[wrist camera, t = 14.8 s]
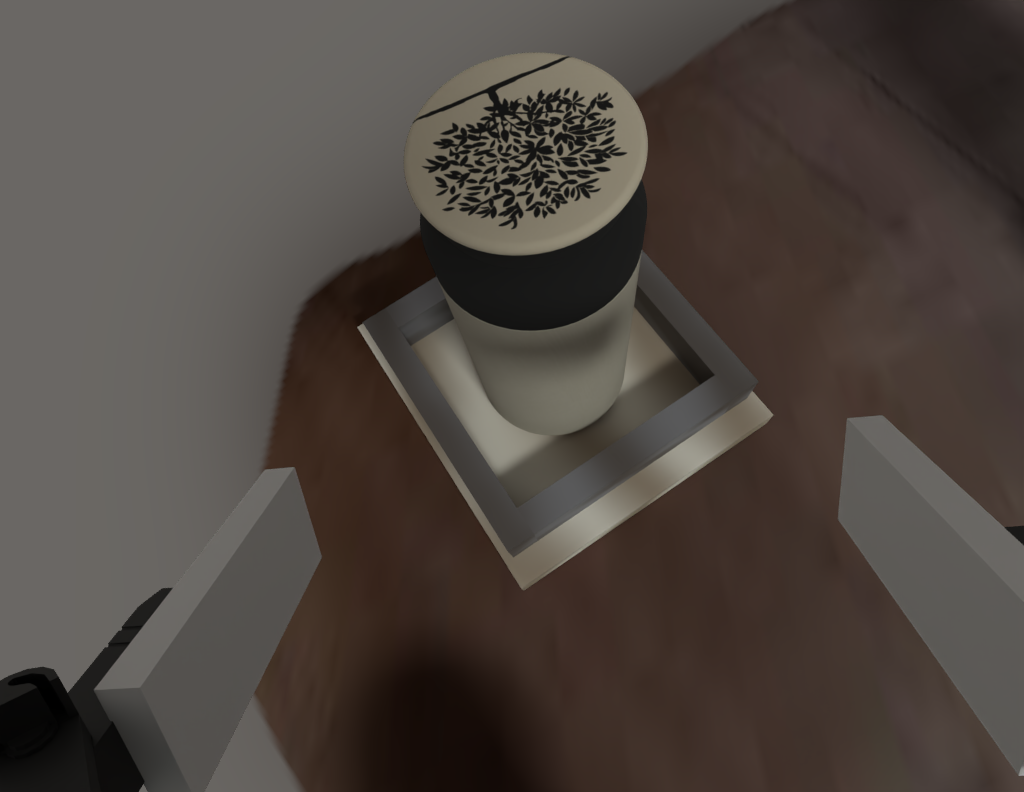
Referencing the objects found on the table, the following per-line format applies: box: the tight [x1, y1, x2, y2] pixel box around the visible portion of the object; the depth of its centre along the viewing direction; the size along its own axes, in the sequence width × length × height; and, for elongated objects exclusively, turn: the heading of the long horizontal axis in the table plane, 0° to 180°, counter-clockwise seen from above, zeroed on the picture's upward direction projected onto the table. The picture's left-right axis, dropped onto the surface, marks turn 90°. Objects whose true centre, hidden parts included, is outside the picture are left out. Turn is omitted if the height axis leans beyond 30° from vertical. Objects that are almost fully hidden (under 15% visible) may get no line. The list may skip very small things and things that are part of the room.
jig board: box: [357, 250, 773, 590], centre depth 36 cm, size 16×18×4 cm
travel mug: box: [404, 53, 648, 435], centre depth 28 cm, size 8×8×18 cm
